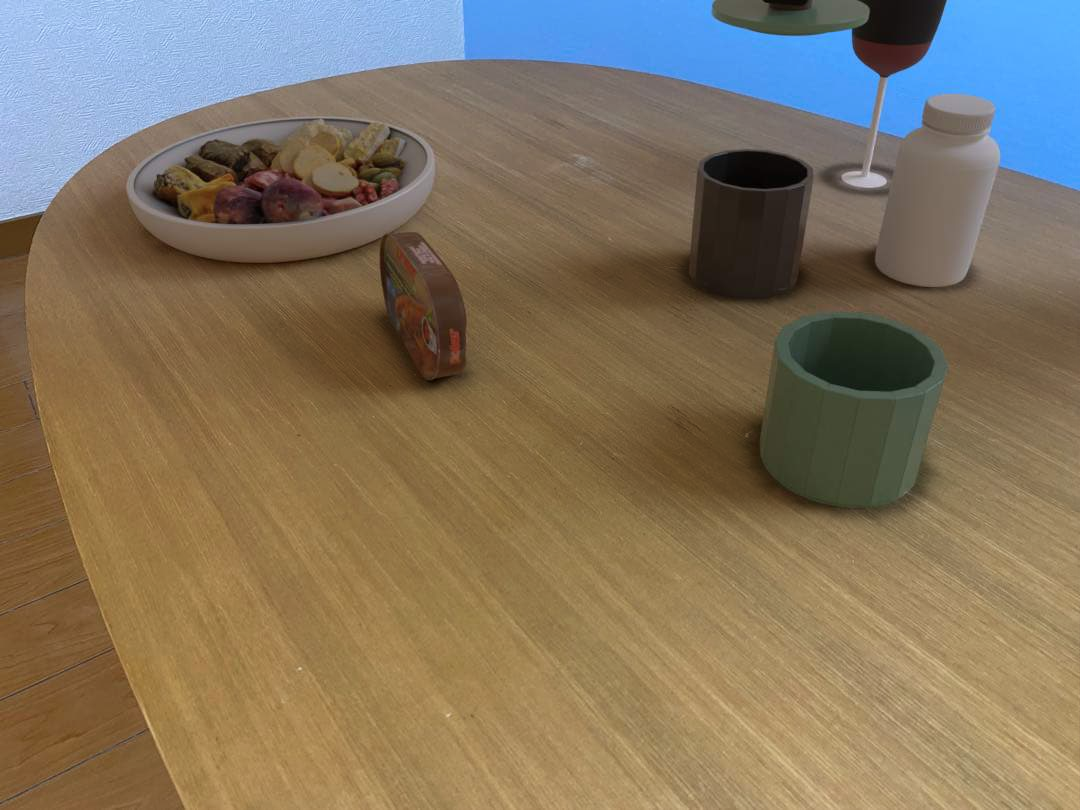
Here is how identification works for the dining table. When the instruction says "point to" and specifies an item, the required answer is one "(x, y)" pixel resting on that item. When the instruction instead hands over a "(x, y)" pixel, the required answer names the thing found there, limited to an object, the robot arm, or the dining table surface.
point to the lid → (792, 16)
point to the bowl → (282, 188)
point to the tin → (423, 304)
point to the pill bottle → (939, 193)
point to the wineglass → (891, 56)
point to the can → (850, 407)
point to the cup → (749, 222)
